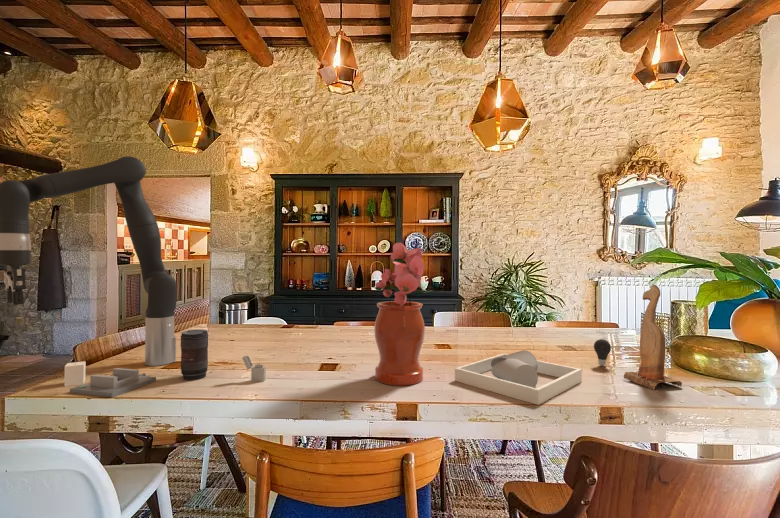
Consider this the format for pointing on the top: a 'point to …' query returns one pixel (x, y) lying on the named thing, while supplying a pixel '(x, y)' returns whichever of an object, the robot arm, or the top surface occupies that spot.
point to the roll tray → (529, 394)
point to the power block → (113, 383)
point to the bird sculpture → (651, 347)
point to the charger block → (75, 373)
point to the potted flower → (400, 321)
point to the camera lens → (194, 354)
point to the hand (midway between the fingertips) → (15, 303)
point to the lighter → (255, 370)
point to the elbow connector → (516, 368)
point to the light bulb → (602, 350)
